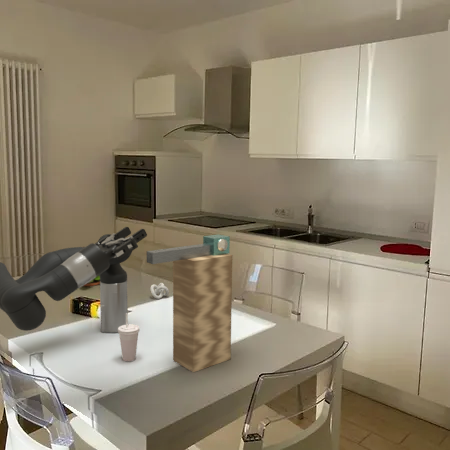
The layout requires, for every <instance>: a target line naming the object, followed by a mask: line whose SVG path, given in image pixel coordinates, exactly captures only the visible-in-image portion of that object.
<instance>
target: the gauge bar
mask: <svg viewBox="0 0 450 450" xmlns="http://www.w3.org/2000/svg"><path fill="white" fill-rule="evenodd" d="M230 239H231V237H230V236H228V235H224V234H213V235H212V234H211V235H204V236H203V239H202V243H199V244H191V245H184V246H175V247H170V248H161V249H154V250H147V251H146V263H149V264H151V265H157V264H162V263H169V262H173V261H177V260H183V259H190V258H196V257H203V256H209V255H213V256H215V255H221V254H230V248H231V247H230V243H231V241H230Z"/></svg>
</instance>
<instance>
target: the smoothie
mask: <svg viewBox="0 0 450 450" xmlns="http://www.w3.org/2000/svg"><path fill="white" fill-rule="evenodd" d="M128 314H129V313H128ZM128 314H127V313H126V325H122V326H120V327H119V328H118V332H117V333H118V334H119V335H118V336H119V341H120V348H121V356H122V357H121V358H122V360H123V361H124V362H132V361H135V360H136V357H137V356H136V355H137V348H138V340H139V332H140V331H141V330H140V326H139V325H137V324H132V323H131V324H130V323H129V320H128V317H129V316H128Z"/></svg>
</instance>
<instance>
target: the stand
mask: <svg viewBox="0 0 450 450" xmlns="http://www.w3.org/2000/svg"><path fill="white" fill-rule="evenodd" d="M172 292H173V293H172V296H173V297H172V312H173V313H172V319H173V320H172V323H173V324H172V328H173V329H172V361H173V360H174V361H173V362H175V363H176V362H177V363H176V364H178V363H179V364H178V365H180V366H182V367H183V368H185V369H187V370H189V371H191V372H192V373H195V372H198V371H201V370H204V369H206V368H209V367H213V366H215V365H218V364H220V363H221V364H222V363H225V362H227V361H229V360H231V358H232V357H231V355H232V354H231V353H232V351H231V350H232V349H231V348H232V309H233V308H232V306H233V305H232V302H233V301H232V298H233V296H232V295H233V254H230V253H228V254H221V255H215V256H213V255H209V256H203V257H196V258H190V259H183V260H177V261H172Z"/></svg>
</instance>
